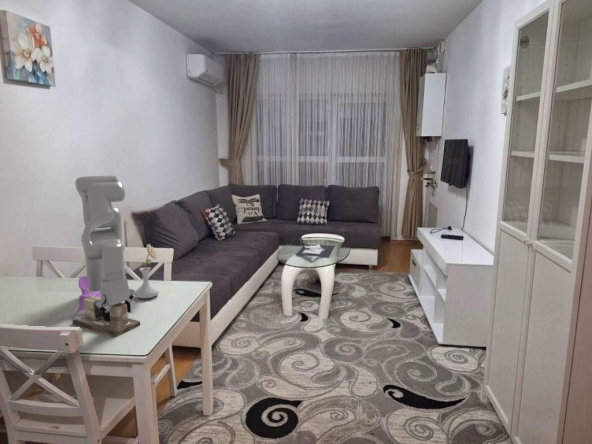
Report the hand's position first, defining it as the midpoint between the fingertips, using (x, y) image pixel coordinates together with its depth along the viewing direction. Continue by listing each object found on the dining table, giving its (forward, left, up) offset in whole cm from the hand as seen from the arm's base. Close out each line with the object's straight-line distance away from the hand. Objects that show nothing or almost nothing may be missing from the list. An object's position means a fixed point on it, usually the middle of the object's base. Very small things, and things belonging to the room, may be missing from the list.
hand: (117, 316), depth 162 cm
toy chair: (-7, -26, -5) cm, 27 cm away
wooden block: (0, 0, -3) cm, 3 cm away
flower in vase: (-31, -17, -5) cm, 36 cm away
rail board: (0, -7, -5) cm, 8 cm away
